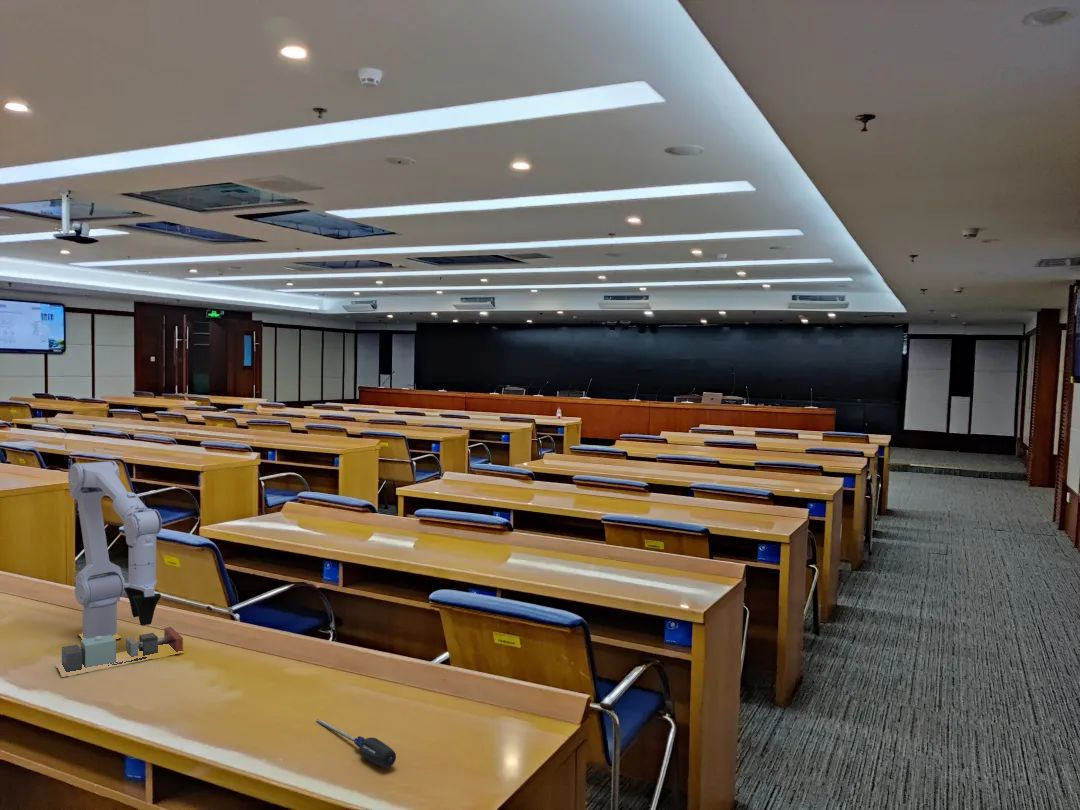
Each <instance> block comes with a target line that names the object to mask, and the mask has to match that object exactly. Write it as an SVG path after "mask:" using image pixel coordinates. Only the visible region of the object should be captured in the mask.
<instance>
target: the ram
mask: <svg viewBox="0 0 1080 810" xmlns="http://www.w3.org/2000/svg"><path fill="white" fill-rule="evenodd" d="M163 629H164V632H163V636H164V637H158V645H163V644H169V645H170V646H171V647H172V648H173V649H174V650H175V651H176V652H178V651H184V650H183V649H184V647H183V646H184V645H183V643H184V637H183V636H181V635H180V633H178V632H177V631H176V630H175V629H174V628H173V627H171V626H169V627H164V628H163ZM142 648H143V641H142V642H139V641H138V640H137V639H136V638H135V637H134V636H132V637H127V638H126V637H125V651H127V653H128V654H129V655H130V656H131V657H134V656H138V649H142Z"/></svg>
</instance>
